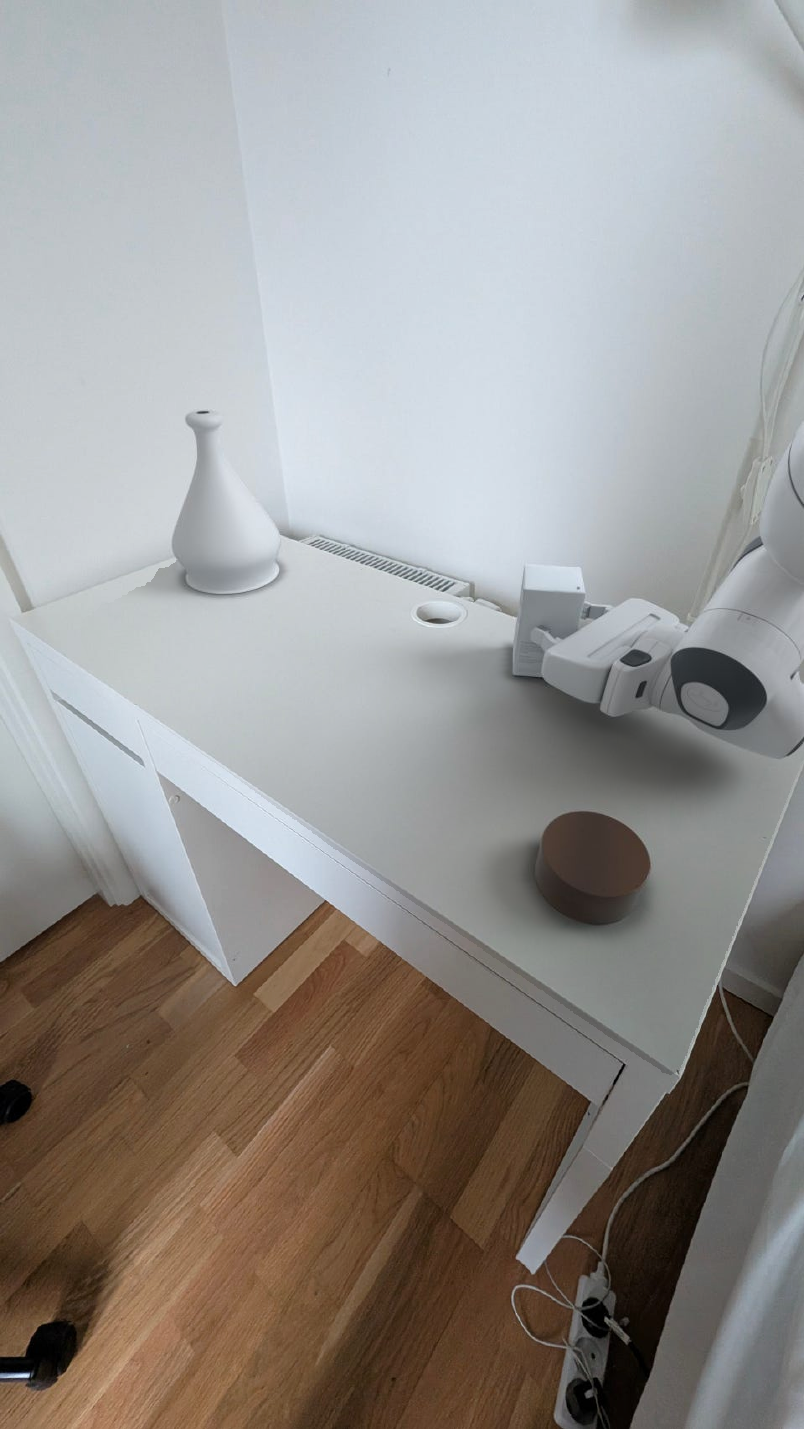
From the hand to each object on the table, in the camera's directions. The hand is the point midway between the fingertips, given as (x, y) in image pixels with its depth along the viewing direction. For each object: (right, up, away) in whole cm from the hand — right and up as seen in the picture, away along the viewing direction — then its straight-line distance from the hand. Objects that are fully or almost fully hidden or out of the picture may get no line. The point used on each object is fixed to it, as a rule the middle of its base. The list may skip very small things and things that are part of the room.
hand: (556, 619), depth 73 cm
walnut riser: (-3, -27, -22) cm, 35 cm away
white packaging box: (-1, -5, +5) cm, 7 cm away
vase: (-49, +12, +26) cm, 56 cm away
